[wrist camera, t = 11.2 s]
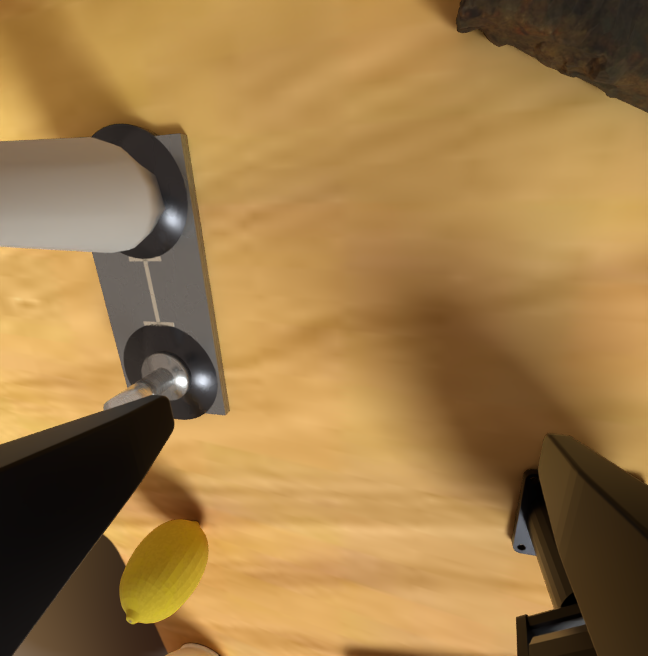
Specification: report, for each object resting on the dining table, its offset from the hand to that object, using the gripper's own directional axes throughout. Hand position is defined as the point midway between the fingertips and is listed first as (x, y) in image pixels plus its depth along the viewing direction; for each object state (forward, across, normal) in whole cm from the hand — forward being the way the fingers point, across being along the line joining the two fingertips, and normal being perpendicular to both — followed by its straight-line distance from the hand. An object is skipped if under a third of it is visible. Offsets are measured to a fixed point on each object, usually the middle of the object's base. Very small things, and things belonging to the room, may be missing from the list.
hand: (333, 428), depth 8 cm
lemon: (+13, +16, +21) cm, 30 cm away
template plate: (+13, +15, 0) cm, 20 cm away
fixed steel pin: (+13, +15, +6) cm, 21 cm away
